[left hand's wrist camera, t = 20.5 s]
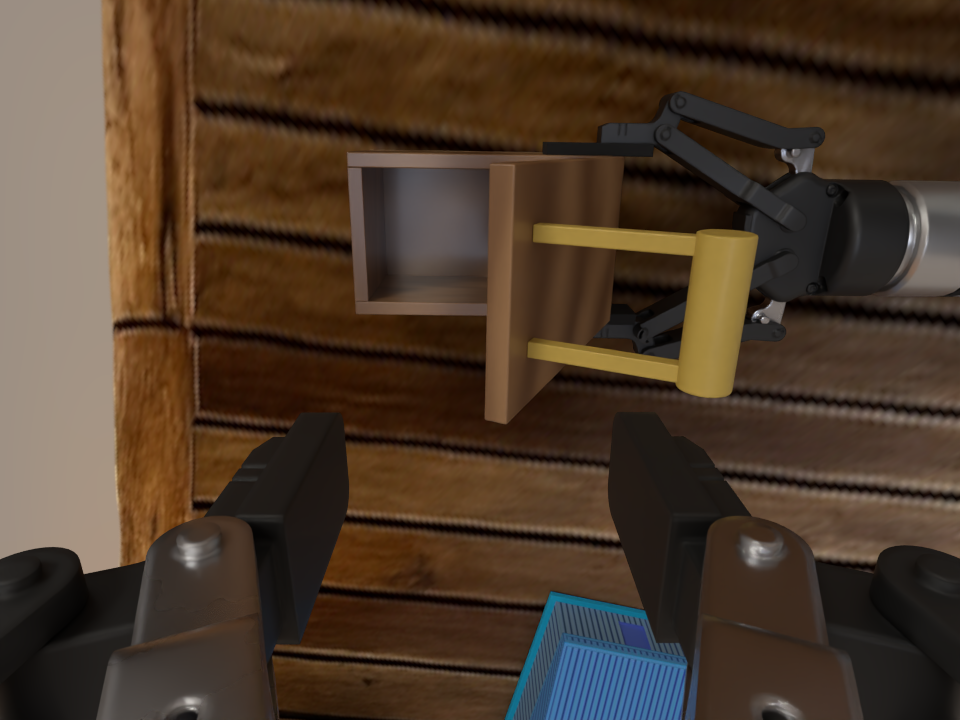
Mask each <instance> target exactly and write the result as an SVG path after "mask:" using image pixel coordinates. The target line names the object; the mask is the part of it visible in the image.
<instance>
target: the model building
mask: <svg viewBox="0 0 960 720" xmlns="http://www.w3.org/2000/svg"><path fill="white" fill-rule="evenodd" d="M686 668H687V660H686V657H685V655H684V652H683V650H682V647H681V645H680V643H656V641H655V638H654V635H653V633H652V630H651V627H650V624H649V621H648V618H647V615H646V613H645V610H640V609H635V608H630V607H625V606H620V605H615V604H610V603H606V602H601V601H596V600H591V599H586V598H581V597H576V596H571V595H566V594H562V593H557V592H552V591H551V592H550V595H549V598H548V600H547V603H546V606H545V609H544V611H543V614H542V617H541V620H540V623H539V625H538V628H537V631H536V634H535V637H534V639H533V642H532V645H531V648H530V650H529V653H528V656H527V659H526V662H525V664H524V667H523V670H522V673H521V675H520V678H519V681H518V684H517V687H516V689H515V692H514V695H513V698H512V701H511V703H510V706H509V709H508V712H507V714H506V717H505V720H681V711H682V701H683V692H684V682H685V674H686Z"/></svg>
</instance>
